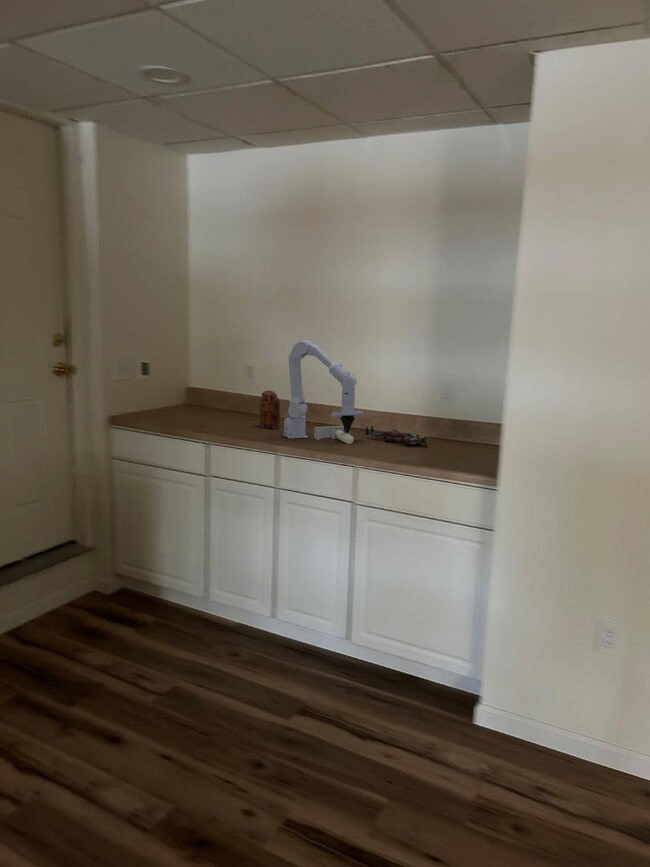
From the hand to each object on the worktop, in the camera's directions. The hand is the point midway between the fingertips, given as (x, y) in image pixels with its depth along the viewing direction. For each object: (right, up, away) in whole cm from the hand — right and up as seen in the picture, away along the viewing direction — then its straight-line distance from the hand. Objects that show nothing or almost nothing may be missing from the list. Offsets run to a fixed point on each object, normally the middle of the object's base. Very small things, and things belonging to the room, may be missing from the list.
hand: (346, 432), depth 292 cm
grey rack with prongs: (-6, -3, +5) cm, 8 cm away
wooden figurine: (-37, +2, +27) cm, 46 cm away
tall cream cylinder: (0, -4, +2) cm, 4 cm away
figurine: (+23, -5, +2) cm, 23 cm away
